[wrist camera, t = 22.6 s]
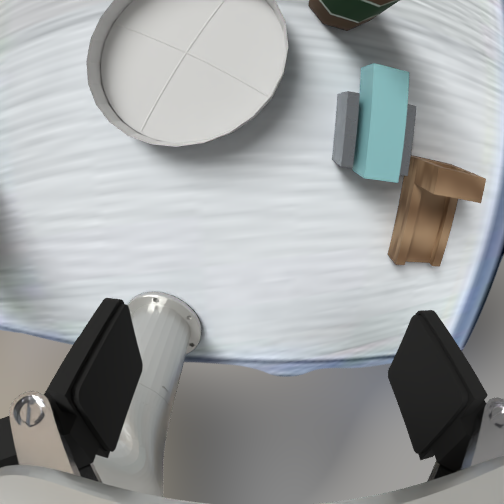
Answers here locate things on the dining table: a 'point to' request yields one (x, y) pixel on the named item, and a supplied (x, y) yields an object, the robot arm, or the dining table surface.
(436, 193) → the brown wooden bracket
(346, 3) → the beer bottle
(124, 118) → the dish
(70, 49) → the dining table surface
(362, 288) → the dining table surface
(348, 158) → the cradle block
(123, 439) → the robot arm
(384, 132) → the teal block
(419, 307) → the dining table surface
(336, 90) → the dining table surface
